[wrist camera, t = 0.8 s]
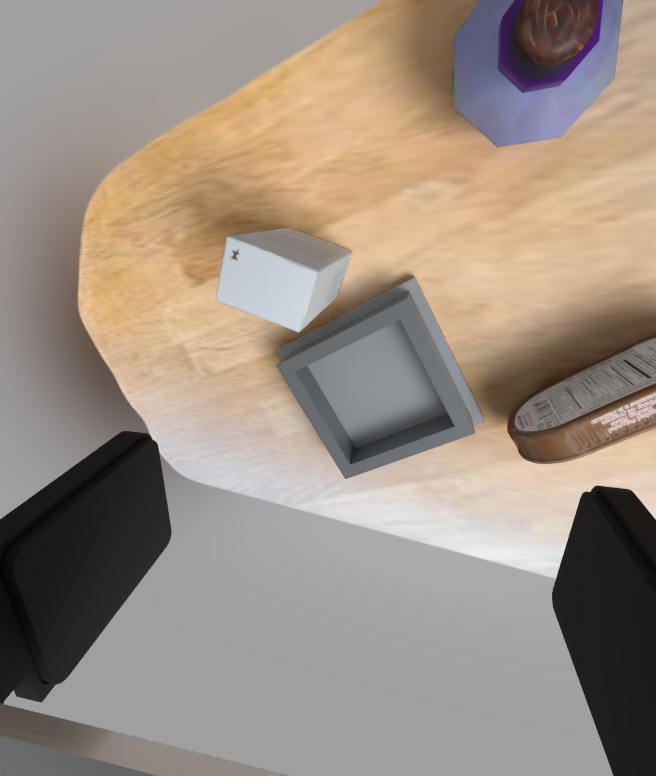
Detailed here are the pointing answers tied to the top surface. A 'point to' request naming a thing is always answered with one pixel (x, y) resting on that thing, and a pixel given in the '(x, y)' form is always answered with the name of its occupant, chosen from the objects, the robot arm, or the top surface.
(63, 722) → the robot arm
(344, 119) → the top surface
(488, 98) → the potion bottle
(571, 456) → the tin
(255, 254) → the skincare box
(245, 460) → the top surface
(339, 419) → the grey square tray
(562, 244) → the top surface
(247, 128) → the top surface
